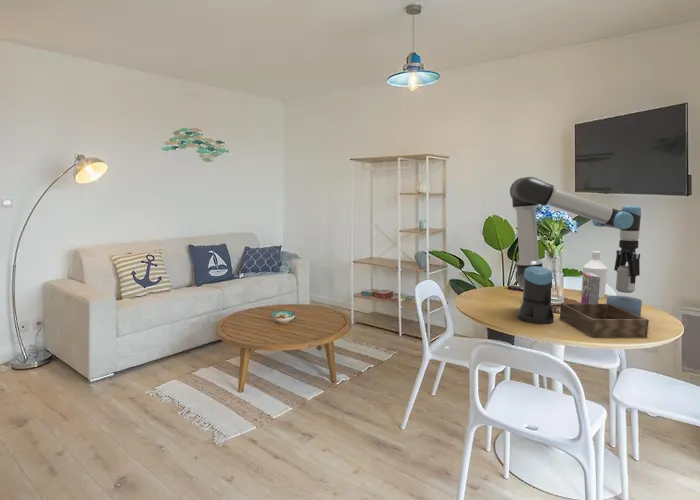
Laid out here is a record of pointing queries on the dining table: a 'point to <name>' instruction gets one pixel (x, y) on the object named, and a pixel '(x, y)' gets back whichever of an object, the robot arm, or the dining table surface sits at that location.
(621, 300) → the stand
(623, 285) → the can
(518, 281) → the robot arm
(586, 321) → the crate
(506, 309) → the dining table surface
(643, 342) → the dining table surface
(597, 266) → the bottle
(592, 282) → the candy bar box
